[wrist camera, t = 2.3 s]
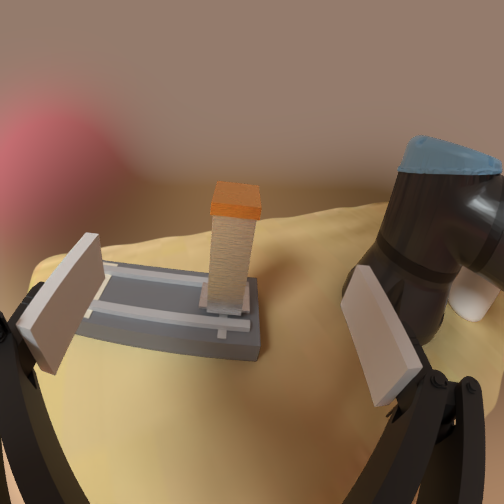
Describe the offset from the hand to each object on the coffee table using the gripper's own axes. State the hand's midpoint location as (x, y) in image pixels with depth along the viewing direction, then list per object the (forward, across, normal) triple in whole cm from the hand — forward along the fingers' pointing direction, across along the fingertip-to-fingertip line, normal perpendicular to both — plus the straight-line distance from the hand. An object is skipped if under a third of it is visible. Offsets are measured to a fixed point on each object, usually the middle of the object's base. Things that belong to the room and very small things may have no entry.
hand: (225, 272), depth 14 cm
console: (+10, -6, -14) cm, 19 cm away
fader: (+10, 0, -11) cm, 15 cm away
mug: (+16, +39, -14) cm, 44 cm away
